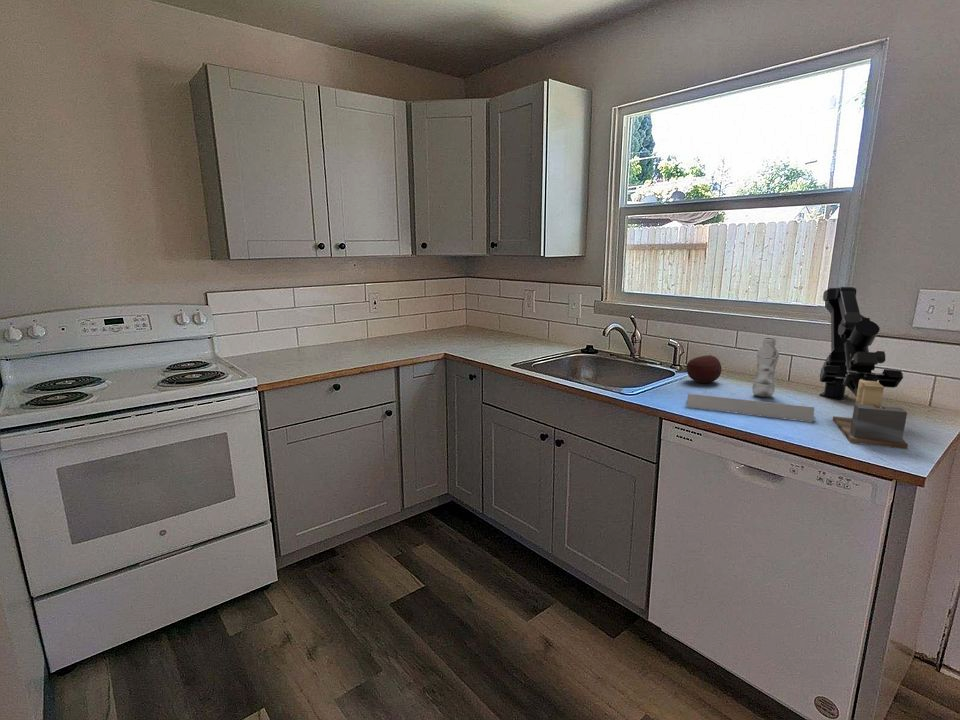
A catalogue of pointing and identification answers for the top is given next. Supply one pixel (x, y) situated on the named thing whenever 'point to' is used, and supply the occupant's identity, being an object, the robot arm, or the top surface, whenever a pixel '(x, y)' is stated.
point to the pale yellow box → (869, 393)
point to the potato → (704, 369)
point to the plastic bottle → (766, 368)
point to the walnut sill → (874, 426)
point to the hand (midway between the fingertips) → (862, 401)
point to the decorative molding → (751, 407)
